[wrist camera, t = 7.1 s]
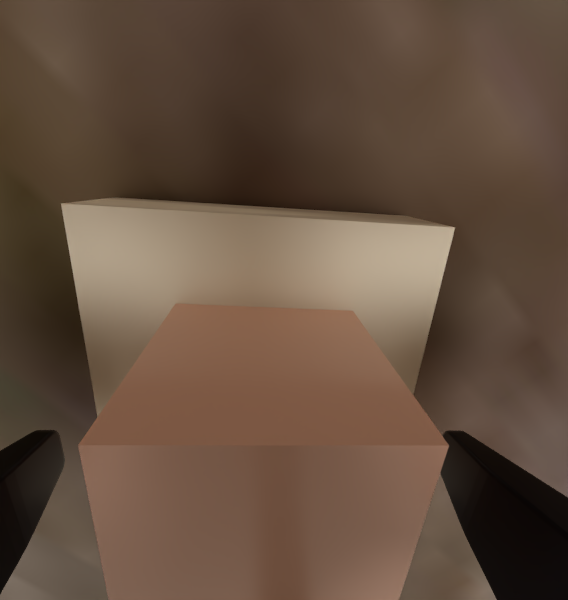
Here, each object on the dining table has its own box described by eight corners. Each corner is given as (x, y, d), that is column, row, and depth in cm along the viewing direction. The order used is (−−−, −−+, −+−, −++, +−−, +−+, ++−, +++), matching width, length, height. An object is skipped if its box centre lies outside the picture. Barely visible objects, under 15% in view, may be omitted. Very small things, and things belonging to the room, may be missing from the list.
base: (363, 436, 15) (388, 496, 12) (141, 436, 14) (111, 501, 11) (406, 215, 11) (455, 227, 9) (114, 197, 10) (61, 203, 8)
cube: (331, 444, 11) (385, 642, 6) (182, 444, 10) (120, 657, 6) (353, 310, 9) (449, 445, 5) (175, 303, 9) (78, 444, 4)
